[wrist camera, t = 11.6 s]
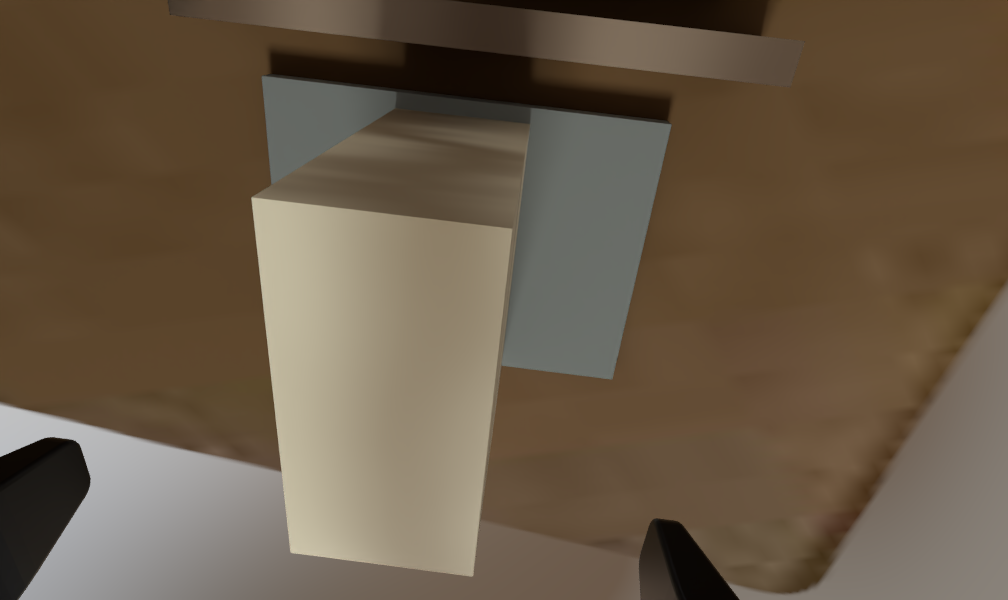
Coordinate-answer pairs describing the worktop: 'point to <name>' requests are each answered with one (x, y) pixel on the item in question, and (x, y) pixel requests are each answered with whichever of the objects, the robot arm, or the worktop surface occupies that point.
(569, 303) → the mat
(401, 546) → the cream rectangular block
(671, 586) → the robot arm
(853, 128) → the worktop surface
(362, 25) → the rack
